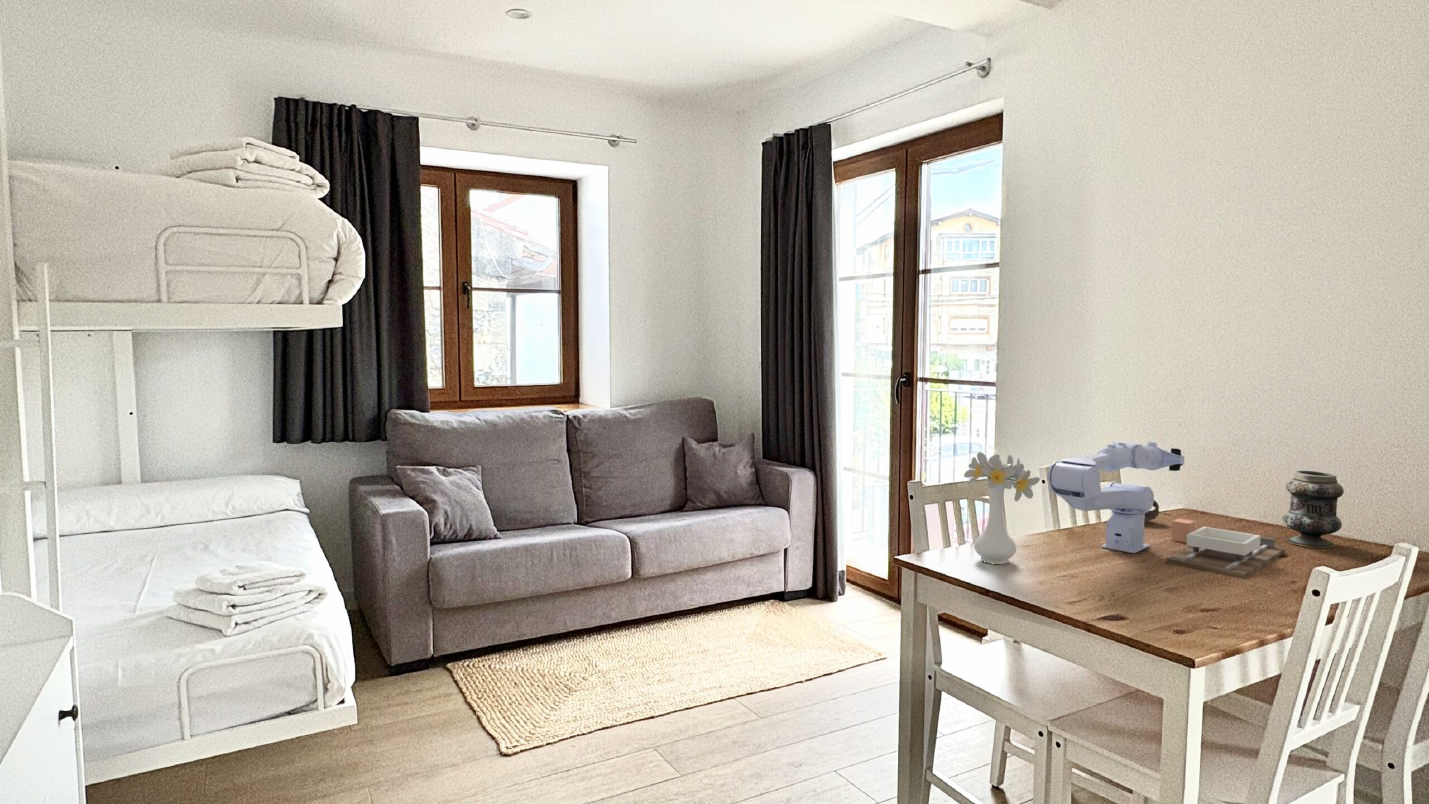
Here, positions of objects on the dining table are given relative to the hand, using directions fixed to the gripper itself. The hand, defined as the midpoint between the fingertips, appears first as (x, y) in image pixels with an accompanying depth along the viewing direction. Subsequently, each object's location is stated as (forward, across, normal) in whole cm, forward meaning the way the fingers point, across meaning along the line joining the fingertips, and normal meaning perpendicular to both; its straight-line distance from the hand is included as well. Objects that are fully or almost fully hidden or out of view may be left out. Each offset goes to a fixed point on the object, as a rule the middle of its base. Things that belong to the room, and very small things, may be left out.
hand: (1166, 459), depth 221 cm
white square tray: (-12, -19, +21) cm, 31 cm away
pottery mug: (+12, +13, +17) cm, 25 cm away
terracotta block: (0, -5, +20) cm, 21 cm away
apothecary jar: (+20, -27, +18) cm, 38 cm away
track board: (-9, -18, +22) cm, 30 cm away
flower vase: (-52, +15, +28) cm, 61 cm away
